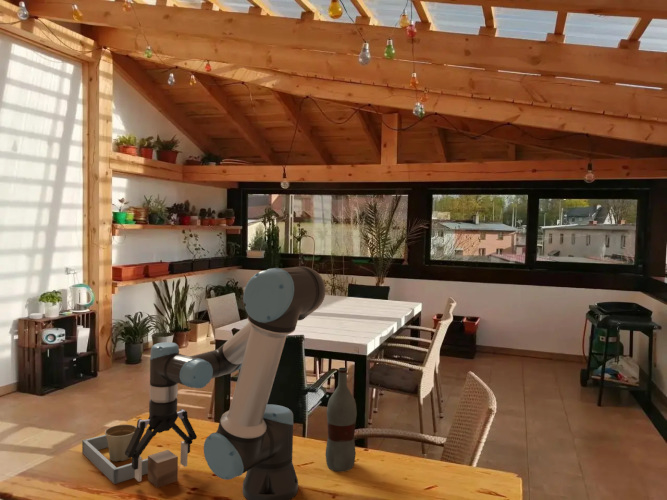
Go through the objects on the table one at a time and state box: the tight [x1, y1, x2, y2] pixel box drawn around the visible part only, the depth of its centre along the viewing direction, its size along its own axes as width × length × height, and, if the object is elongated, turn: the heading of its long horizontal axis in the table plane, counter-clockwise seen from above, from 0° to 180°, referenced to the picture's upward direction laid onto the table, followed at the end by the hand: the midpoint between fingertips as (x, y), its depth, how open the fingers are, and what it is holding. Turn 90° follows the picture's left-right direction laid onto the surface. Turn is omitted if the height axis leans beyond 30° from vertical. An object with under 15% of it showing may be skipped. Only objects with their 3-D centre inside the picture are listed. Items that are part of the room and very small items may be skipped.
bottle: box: [325, 367, 358, 473], centre depth 156 cm, size 9×9×30 cm
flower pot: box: [104, 423, 137, 462], centre depth 158 cm, size 9×9×9 cm
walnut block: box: [147, 449, 179, 488], centre depth 145 cm, size 6×6×7 cm
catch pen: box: [81, 434, 148, 485], centre depth 156 cm, size 26×14×4 cm, turn 44°
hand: (161, 471), depth 145 cm, fingers open, 13 cm apart
